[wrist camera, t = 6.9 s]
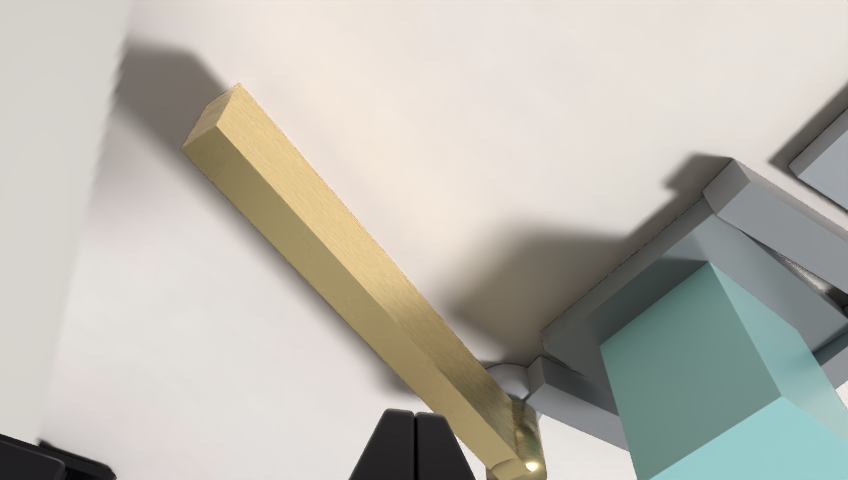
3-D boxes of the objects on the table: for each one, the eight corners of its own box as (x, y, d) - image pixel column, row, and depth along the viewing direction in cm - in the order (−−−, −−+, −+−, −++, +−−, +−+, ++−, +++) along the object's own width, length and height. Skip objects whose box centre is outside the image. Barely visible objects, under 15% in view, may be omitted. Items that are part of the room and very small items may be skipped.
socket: (661, 480, 27) (670, 508, 26) (460, 394, 24) (462, 421, 23) (924, 280, 21) (948, 307, 20) (700, 137, 18) (716, 159, 17)
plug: (674, 414, 25) (734, 578, 20) (539, 328, 23) (570, 490, 18) (839, 303, 22) (957, 464, 17) (704, 191, 20) (796, 340, 15)
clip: (547, 424, 23) (557, 482, 21) (499, 444, 24) (505, 502, 22) (252, 73, 16) (230, 115, 14) (194, 113, 17) (166, 158, 15)
